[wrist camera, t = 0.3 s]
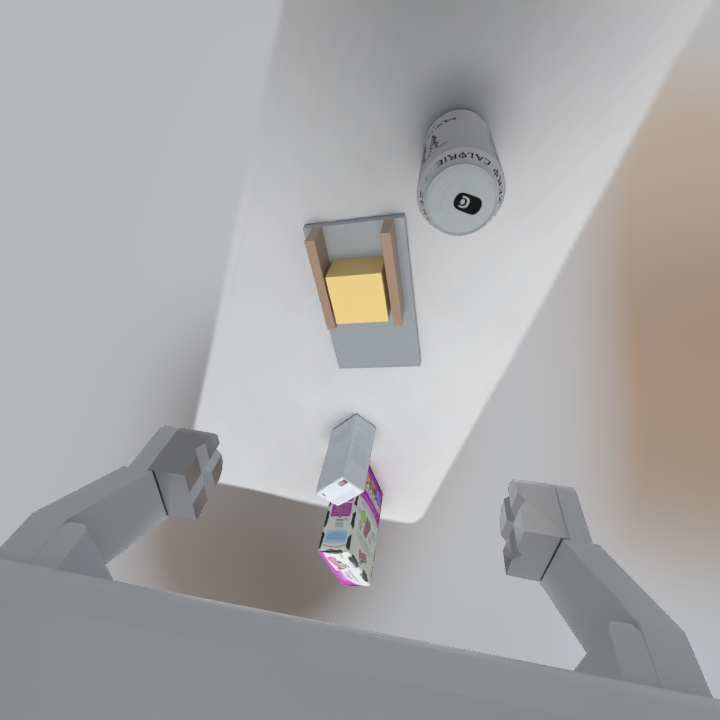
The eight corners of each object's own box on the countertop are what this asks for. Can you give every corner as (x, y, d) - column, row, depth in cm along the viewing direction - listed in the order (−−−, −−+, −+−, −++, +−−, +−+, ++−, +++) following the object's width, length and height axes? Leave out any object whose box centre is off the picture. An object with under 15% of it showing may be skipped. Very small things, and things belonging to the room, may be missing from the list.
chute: (305, 224, 48) (294, 242, 44) (404, 213, 45) (401, 231, 42) (340, 363, 60) (334, 385, 56) (420, 361, 57) (419, 384, 54)
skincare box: (352, 442, 71) (338, 509, 61) (331, 428, 69) (313, 494, 60) (377, 426, 67) (366, 494, 58) (355, 410, 66) (340, 478, 56)
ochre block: (332, 260, 49) (325, 277, 46) (385, 255, 47) (381, 272, 44) (343, 305, 52) (336, 324, 49) (391, 302, 51) (388, 321, 48)
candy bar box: (337, 458, 74) (315, 551, 61) (365, 455, 72) (348, 551, 60) (358, 495, 80) (341, 587, 68) (383, 494, 79) (372, 587, 66)
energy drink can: (440, 96, 38) (437, 139, 27) (502, 121, 39) (526, 173, 27) (414, 164, 42) (402, 226, 31) (471, 186, 42) (481, 255, 31)
